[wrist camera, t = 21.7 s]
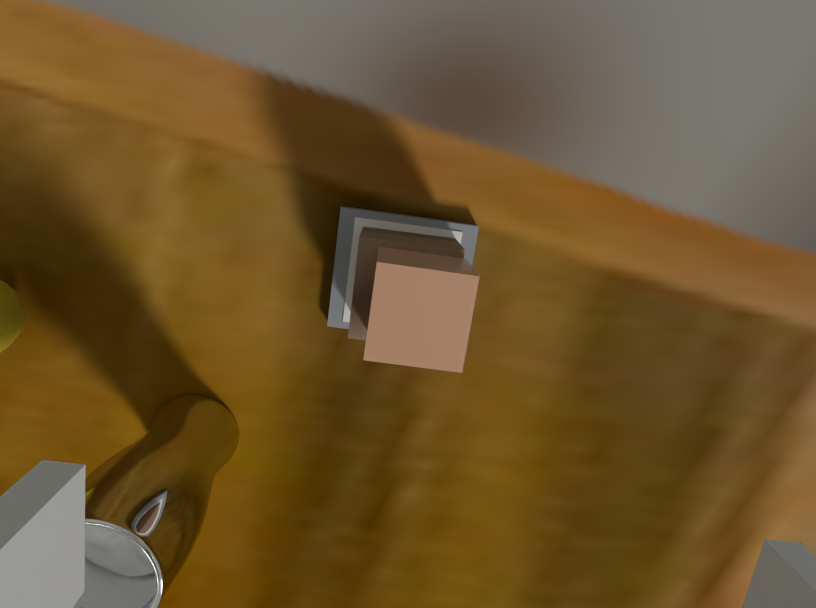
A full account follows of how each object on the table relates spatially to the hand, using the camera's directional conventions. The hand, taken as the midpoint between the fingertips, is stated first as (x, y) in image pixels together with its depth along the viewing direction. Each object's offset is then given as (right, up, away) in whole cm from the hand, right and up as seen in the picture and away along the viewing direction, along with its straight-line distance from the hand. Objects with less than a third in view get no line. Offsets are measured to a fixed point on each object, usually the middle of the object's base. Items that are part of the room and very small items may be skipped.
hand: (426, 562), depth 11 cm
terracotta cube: (0, +5, +22) cm, 23 cm away
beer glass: (-16, -4, +30) cm, 34 cm away
